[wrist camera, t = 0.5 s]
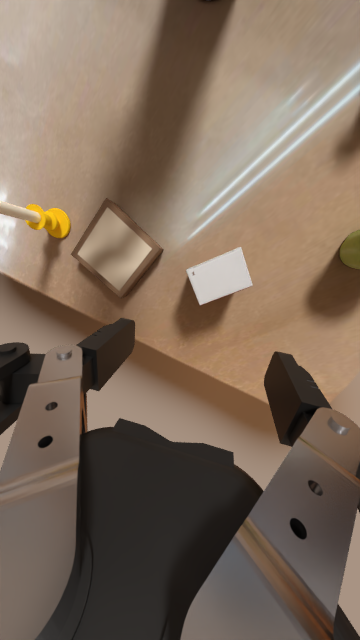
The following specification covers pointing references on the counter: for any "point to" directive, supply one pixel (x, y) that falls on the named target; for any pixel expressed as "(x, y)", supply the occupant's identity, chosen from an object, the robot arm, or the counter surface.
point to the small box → (219, 276)
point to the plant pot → (351, 250)
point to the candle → (40, 218)
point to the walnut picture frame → (116, 249)
